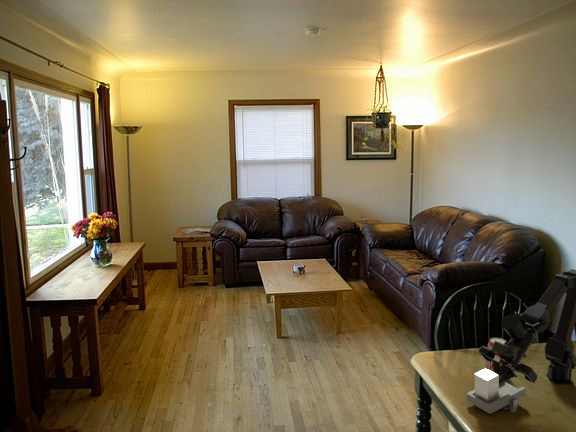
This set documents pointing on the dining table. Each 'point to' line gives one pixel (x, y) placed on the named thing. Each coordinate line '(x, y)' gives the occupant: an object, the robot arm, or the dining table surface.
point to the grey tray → (505, 397)
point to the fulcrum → (511, 405)
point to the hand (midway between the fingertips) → (492, 385)
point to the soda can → (490, 345)
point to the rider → (487, 386)
